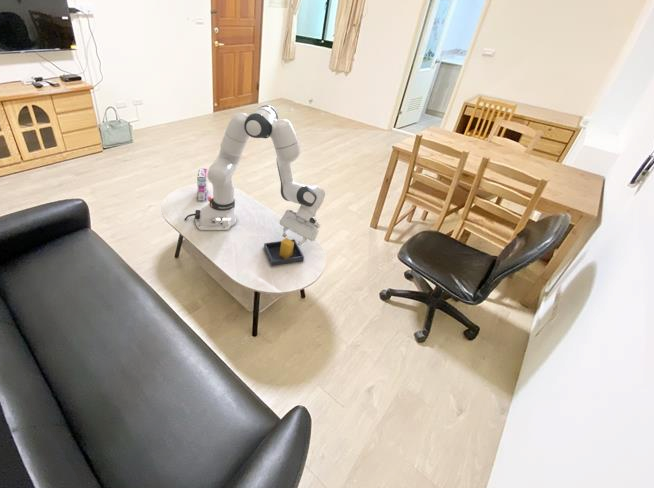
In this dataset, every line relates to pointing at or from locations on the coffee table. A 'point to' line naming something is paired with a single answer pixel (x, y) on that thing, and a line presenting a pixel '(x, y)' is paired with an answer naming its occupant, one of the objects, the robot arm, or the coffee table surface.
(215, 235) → the coffee table surface
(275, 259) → the pan
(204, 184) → the candy bar box
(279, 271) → the coffee table surface
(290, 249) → the cheese
